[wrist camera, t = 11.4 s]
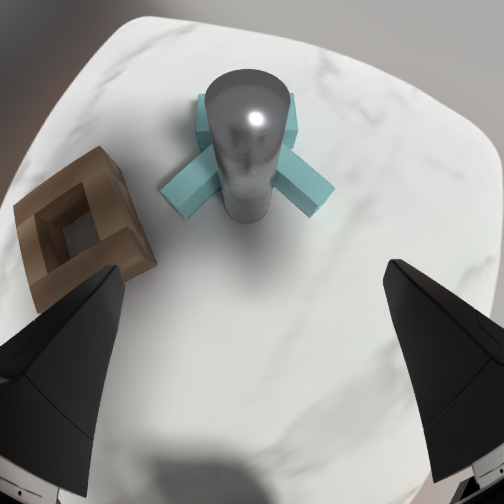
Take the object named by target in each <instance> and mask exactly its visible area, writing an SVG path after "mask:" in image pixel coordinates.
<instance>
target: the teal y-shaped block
mask: <svg viewBox="0 0 504 504" xmlns="http://www.w3.org/2000/svg"><path fill="white" fill-rule="evenodd" d="M289 94H290V98H291V103H290V108H289V113H288V118H287V122H286V127H285V132H284V136H283V141H282V146H281V151H280V155H279V160H278V165H277V169H276V174H275V179H274V183H273V186H275V187H276V188H277V189H278V190H279V191H280V192H281V193H283V194H284V195H285V196H286V197H287V198H288V199H289V200H290V201H291V202H293V203H294V204H295V205H296V206H297V207H298V208H299V209H300V210H301V211H303V212H304V213H305V214H306V215H307V216H308V217H309V218H310V217H311V216H312V215H313V214H314V213H315V212H316V211H317V210H318V209H319V208H320V207H321V206H322V205H323V204H324V202H325V201H326V200H327V199H328V197H329V196H330V195H331V193H332V192H333V190H334V189H335V188H334V187H333V186H332V185H331V184H330V183H329V182H328V181H327V180H325V179H324V178H323V177H322V176H321V175H320V174H319V173H317V172H316V171H315V170H314V169H313V168H312V167H311V166H309V165H308V164H307V163H306V162H305V161H303V160H302V159H301V158H300V157H299V156H297V155H296V154H295V153H294V152H293V151H291V150H290V149H293V146H294V143H295V139H296V136H297V132H298V125H297V117H296V109H295V101H294V94H293V93H289ZM204 99H205V94H198V104H197V115H196V127H195V133H196V137H197V140H198V144H199V147H200V150H204V151H203V152H202V153H201V154H199V155H198V156H197V157H196V158H195V159H194V160H193V161H192V162H190V163H189V164H188V165H187V166H186V167H185V168H184V169H183V170H182V171H181V172H179V173H178V174H177V175H176V176H175V177H174V178H173V179H172V180H171V181H170V182H169V183H168V184H167V185H166V186H164V187H163V188H162V189H161V190H160V192H161V193H162V195H163V196H164V197H165V199H166V200H167V202H168V203H169V204H170V205H171V206H172V207H173V208H174V209H175V210H176V211H177V212H178V213H179V214H180V215H181V216H182V217H183V218H184V219H185V220H186V219H187V218H189V217H190V216H191V215H192V214H193V213H194V212H195V211H196V210H197V209H198V208H199V207H200V206H201V205H202V204H203V203H204V202H205V201H206V200H207V199H208V198H209V197H210V196H211V195H212V194H213V193H214V192H215V191H217V190H218V189H219V188H220V187H221V183H220V178H219V173H218V169H217V164H216V159H215V154H214V149H213V144H212V139H211V134H210V129H209V124H208V119H207V114H206V109H205V103H204Z"/></svg>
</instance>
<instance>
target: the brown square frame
mask: <svg viewBox="0 0 504 504" xmlns="http://www.w3.org/2000/svg"><path fill="white" fill-rule="evenodd" d="M13 208H14V216H15V222H16V228H17V234H18V240H19V245H20V250H21V255H22V259H23V263H24V268H25V272H26V276H27V280H28V283H29V287H30V291H31V294H32V298H33V301H34V304H35V307H36V311H37V313H43V312H44V311H46V310H47V309H48V308H49V307H51V306H52V305H53V304H54V303H56V302H57V301H58V300H60V299H61V298H62V297H63V296H65V295H66V294H67V293H69V292H70V291H71V290H73V289H74V288H75V287H77V286H78V285H79V284H81V283H82V282H83V281H85V280H86V279H87V278H89V277H90V276H91V275H93V274H94V273H95V272H97V271H98V270H100V269H101V268H102V267H104V266H105V265H118V267H119V269H120V272H121V275H122V278H123V281H124V282H126V281H128V280H130V279H132V278H134V277H136V276H137V275H139V274H141V273H143V272H145V271H147V270H149V269H151V268H153V267H154V266H156V265H157V262H156V260H155V258H154V255H153V253H152V251H151V248H150V246H149V244H148V241H147V239H146V236H145V234H144V232H143V229H142V227H141V224H140V222H139V219H138V217H137V214H136V211H135V209H134V206H133V204H132V201H131V198H130V196H129V193H128V190H127V187H126V185H125V182H124V179H123V176H122V173H121V171H120V169H119V167H118V166H117V165H116V164H115V163H114V162H113V160H112V159H111V158H110V157H109V156H108V155H107V153H106V152H105V151H104V150H103V149H102V148H101V146H98V147H96V148H95V149H93V150H91V151H90V152H88V153H87V154H85V155H83V156H82V157H80V158H79V159H77V160H76V161H74V162H72V163H71V164H69V165H68V166H66V167H65V168H63V169H62V170H61V171H59V172H58V173H56V174H55V175H53V176H52V177H50V178H49V179H48V180H46V181H45V182H44V183H42V184H41V185H39V186H38V187H37V188H35V189H34V190H33V191H32V192H30V193H29V194H28V195H26V196H25V197H24V198H23V199H21V200H20V201H19V202H18V203H16V204H15V205H14V206H13ZM88 211H91V214H92V217H93V221H94V224H95V227H96V230H97V233H98V236H99V239H100V242H98V243H96V244H95V245H93V246H91V247H90V248H88V249H86V250H85V251H83V252H81V253H80V254H78V255H77V256H75V257H73V258H72V259H70V256H69V253H68V249H67V246H66V242H65V239H64V235H63V231H62V228H63V227H65V226H66V225H68V224H69V223H71V222H72V221H74V220H75V219H77V218H78V217H80V216H82V215H83V214H85V213H86V212H88Z"/></svg>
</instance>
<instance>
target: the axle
mask: <svg viewBox="0 0 504 504" xmlns="http://www.w3.org/2000/svg"><path fill="white" fill-rule="evenodd" d="M204 103H205V109H206V114H207V119H208V124H209V129H210V134H211V139H212V144H213V149H214V154H215V159H216V164H217V169H218V173H219V178H220V183H221V188H222V193H223V198H224V202H225V207H226V210H227V212H228V214H229V215H230V216H231V217H232V218H233V219H234V220H236V221H238V222H240V223H253V222H256V221H258V220H260V219H261V218H262V217H263V216H264V215H265V214H266V212H267V210H268V206H269V202H270V197H271V193H272V188H273V183H274V179H275V174H276V169H277V165H278V160H279V155H280V151H281V146H282V141H283V136H284V132H285V127H286V122H287V118H288V113H289V108H290V103H291V98H290V94H289V91H288V89H287V87H286V86H285V85H284V83H283V82H282V81H281V80H279V79H278V78H277V77H275V76H274V75H272V74H269V73H267V72H264V71H260V70H255V69H241V70H235V71H231V72H228V73H226V74H223V75H222V76H220V77H218V78H217V79H216V80H214V81H213V82H212V83H211V85H210V86H209V87H208V89H207V91H206V94H205V99H204Z"/></svg>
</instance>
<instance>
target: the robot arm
mask: <svg viewBox="0 0 504 504" xmlns="http://www.w3.org/2000/svg"><path fill="white" fill-rule="evenodd" d="M383 286H384V290H385V294H386V298H387V302H388V306H389V310H390V314H391V318H392V322H393V325H394V328H395V331H396V334H397V337H398V340H399V343H400V346H401V349H402V352H403V356H404V359H405V362H406V365H407V369H408V372H409V375H410V379H411V382H412V386H413V390H414V393H415V397H416V401H417V405H418V409H419V413H420V417H421V421H422V425H423V429H424V430H423V431H424V435H425V440H426V445H427V449H428V455H429V460H430V465H431V471H432V477H433V482H434V483H437V482H439V481H441V480H443V479H445V478H448V477H450V476H452V475H454V474H456V473H459V472H461V471H463V470H465V469H466V468H468V467H470V466H472V470H473V473H474V476H472V477H470V478H468V479H466V480H464V481H462V482H460V484H459V486H458V488H457V490H456V492H455V494H454V496H453V498H452V500H451V502H450V504H504V328H502V327H501V326H499V325H497V324H496V323H494V322H493V321H492V320H490V319H489V318H487V317H486V316H485V315H483V314H482V313H480V312H479V311H478V310H476V309H474V308H473V307H472V306H471V305H469V304H468V303H466V302H465V301H464V300H462V299H461V298H459V297H458V296H456V295H455V294H453V293H452V292H451V291H449V290H448V289H446V288H445V287H443V286H442V285H440V284H439V283H437V282H436V281H434V280H433V279H431V278H430V277H428V276H427V275H425V274H424V273H422V272H420V271H419V270H417V269H416V268H414V267H413V266H411V265H410V264H408V263H406V262H405V261H403V260H402V259H391V260H390V261H389V262H388V265H387V268H386V271H385V274H384V278H383ZM124 292H125V284H124V281H123V278H122V275H121V272H120V269H119V267H118V265H105V266H104V267H102V268H101V269H100V270H98V271H97V272H95V273H94V274H93V275H91V276H90V277H89V278H87V279H86V280H85V281H83V282H82V283H81V284H79V285H78V286H77V287H75V288H74V289H73V290H71V291H70V292H69V293H67V294H66V295H65V296H63V297H62V298H61V299H60V300H58V301H57V302H56V303H54V304H53V305H52V306H51V307H49V308H48V309H47V310H46V311H44V312H43V313H42V314H41V315H39V316H38V317H37V318H36V319H35V321H32V322H31V323H30V324H28V325H27V326H26V327H25V328H23V329H22V330H21V331H20V332H19V333H17V334H16V335H15V336H13V337H12V338H11V339H9V340H8V341H7V342H6V343H4V344H3V345H2V346H0V504H61V503H60V501H59V499H58V493H59V489H62V490H64V491H67V492H70V493H73V494H75V495H78V496H81V497H84V498H86V496H87V488H88V478H89V469H90V461H91V454H92V447H93V440H94V433H95V427H96V422H97V416H98V411H99V406H100V401H101V396H102V391H103V387H104V382H105V378H106V373H107V369H108V365H109V361H110V357H111V353H112V349H113V345H114V342H115V338H116V334H117V330H118V325H119V320H120V314H121V308H122V302H123V297H124Z"/></svg>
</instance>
